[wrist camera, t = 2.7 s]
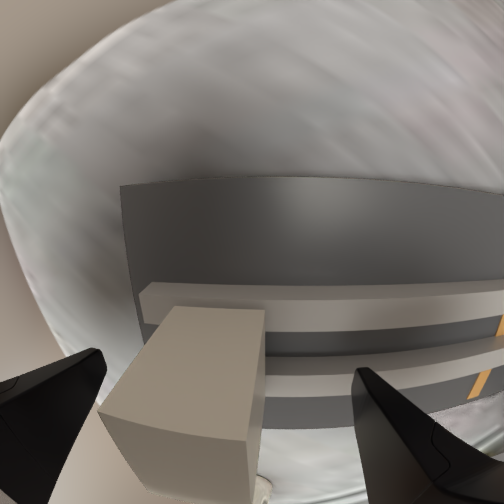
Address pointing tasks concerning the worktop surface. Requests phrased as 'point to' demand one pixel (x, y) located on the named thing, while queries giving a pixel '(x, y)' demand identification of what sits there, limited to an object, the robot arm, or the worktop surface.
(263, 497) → the beer glass
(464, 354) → the fader console
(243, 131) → the worktop surface
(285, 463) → the worktop surface
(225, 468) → the fader knob
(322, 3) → the worktop surface
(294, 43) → the worktop surface
